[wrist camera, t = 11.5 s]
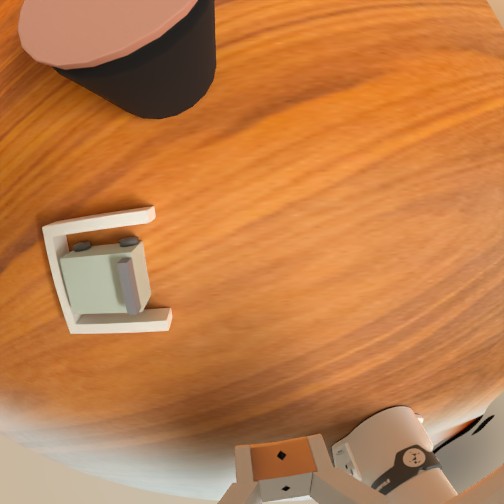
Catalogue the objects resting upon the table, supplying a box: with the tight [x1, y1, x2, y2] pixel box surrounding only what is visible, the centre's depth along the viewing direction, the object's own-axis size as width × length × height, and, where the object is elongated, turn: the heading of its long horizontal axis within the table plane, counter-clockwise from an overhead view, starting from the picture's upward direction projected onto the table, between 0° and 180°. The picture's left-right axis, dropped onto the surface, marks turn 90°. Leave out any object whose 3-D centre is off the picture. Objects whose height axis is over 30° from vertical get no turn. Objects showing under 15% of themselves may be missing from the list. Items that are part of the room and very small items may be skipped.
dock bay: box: [42, 206, 173, 334], centre depth 28 cm, size 12×12×3 cm
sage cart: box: [60, 236, 151, 315], centre depth 27 cm, size 7×8×6 cm
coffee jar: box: [18, 0, 216, 119], centre depth 16 cm, size 11×11×18 cm
